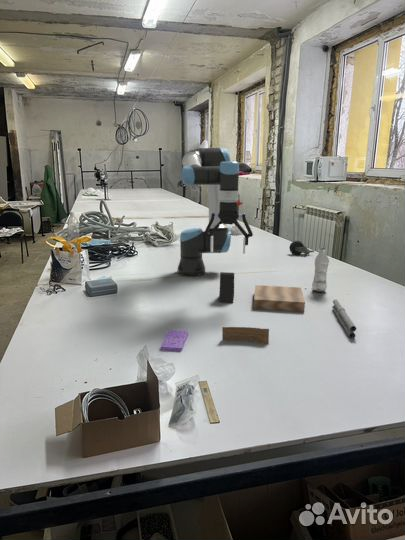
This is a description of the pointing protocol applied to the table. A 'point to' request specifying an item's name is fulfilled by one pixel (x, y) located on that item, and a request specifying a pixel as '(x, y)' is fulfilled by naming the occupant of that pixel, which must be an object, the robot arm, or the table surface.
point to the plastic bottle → (320, 271)
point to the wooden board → (279, 298)
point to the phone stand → (226, 287)
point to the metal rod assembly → (344, 318)
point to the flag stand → (234, 229)
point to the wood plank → (246, 334)
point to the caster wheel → (299, 248)
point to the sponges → (174, 340)
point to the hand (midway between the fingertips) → (227, 252)
